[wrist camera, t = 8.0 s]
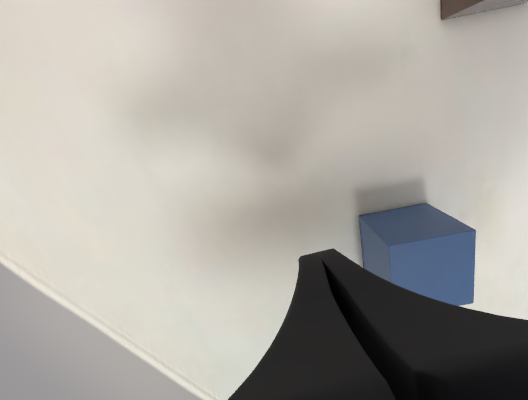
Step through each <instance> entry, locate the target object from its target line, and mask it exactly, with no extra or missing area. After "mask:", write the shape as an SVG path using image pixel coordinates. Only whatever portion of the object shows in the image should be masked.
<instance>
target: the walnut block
mask: <svg viewBox="0 0 528 400" xmlns="http://www.w3.org/2000/svg"><path fill="white" fill-rule="evenodd" d="M526 2H528V0H441V19H442V20H444V19H449V18H454V17H459V16H464V15H469V14H474V13H479V12H484V11H489V10H494V9H499V8H504V7H509V6H514V5H519V4H523V3H526Z"/></svg>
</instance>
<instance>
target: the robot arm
mask: <svg viewBox="0 0 528 400" xmlns="http://www.w3.org/2000/svg"><path fill="white" fill-rule="evenodd" d="M228 400H528V320H523V319H517V318H511V317H505V316H499V315H494V314H489V313H485V312H480V311H476V310H472V309H467V308H463V307H460V306H456V305H452V304H449V303H445V302H442V301H439V300H436V299H432V298H429V297H426V296H423V295H420V294H418V293H415V292H412V291H410V290H407V289H405V288H402V287H400V286H398V285H395V284H393V283H391V282H389V281H387V280H385V279H383V278H381V277H379V276H377V275H375V274H373V273H371V272H369V271H368V270H366V269H364V268H363V267H361V266H359V265H358V264H356V263H354V262H353V261H351V260H350V259H348V258H347V257H345V256H344V255H342V254H341V253H339V252H338V251H336V250H335V249H329V250H325V251H320V252H316V253H312V254H308V255H304V256H301V257H300V258H299V272H298V279H297V283H296V288H295V292H294V295H293V298H292V301H291V305H290V307H289V310H288V312H287V315H286V317H285V319H284V322H283V324H282V326H281V328H280V330H279V332H278V333H277V335H276V337H275V339H274V341H273V343H272V344H271V346H270V347H269V349H268V351H267V352H266V353H265V355H264V356H263V358H262V359H261V361H260V362H259V364H258V365H257V366H256V368H255V369H254V371H253V372H252V373H251V374H250V375H249V377H248V378H247V379H246V380H245V381H244V382H243V383H242V385H241V386H240V387H239V388H238V389H237V390H236V391H235V393H234V394H233V395H232V396H231V397H230V398H229V399H228Z"/></svg>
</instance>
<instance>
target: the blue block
mask: <svg viewBox="0 0 528 400" xmlns="http://www.w3.org/2000/svg"><path fill="white" fill-rule="evenodd" d="M359 222H360V232H361V242H362V253H363V263H364V269H366V270H368V271H369V272H371V273H373V274H375V275H377V276H379V277H381V278H383V279H385V280H387V281H389V282H391V283H393V284H395V285H398V286H400V287H402V288H405V289H407V290H410V291H412V292H415V293H418V294H420V295H423V296H426V297H429V298H432V299H436V300H439V301H442V302H445V303H449V304H452V305H456V306H460V305H465V304H471V303H473V299H474V268H475V238H476V230H475V229H473V228H471V227H469V226H467V225H465V224H464V223H462V222H460V221H458V220H456V219H455V218H453V217H451V216H449V215H447V214H445V213H444V212H442V211H440V210H438V209H436V208H434V207H433V206H431V205H429V204H427V203H425V204H419V205H414V206H409V207H404V208H398V209H393V210H388V211H382V212H377V213H372V214H366V215H361V216H359Z"/></svg>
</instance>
